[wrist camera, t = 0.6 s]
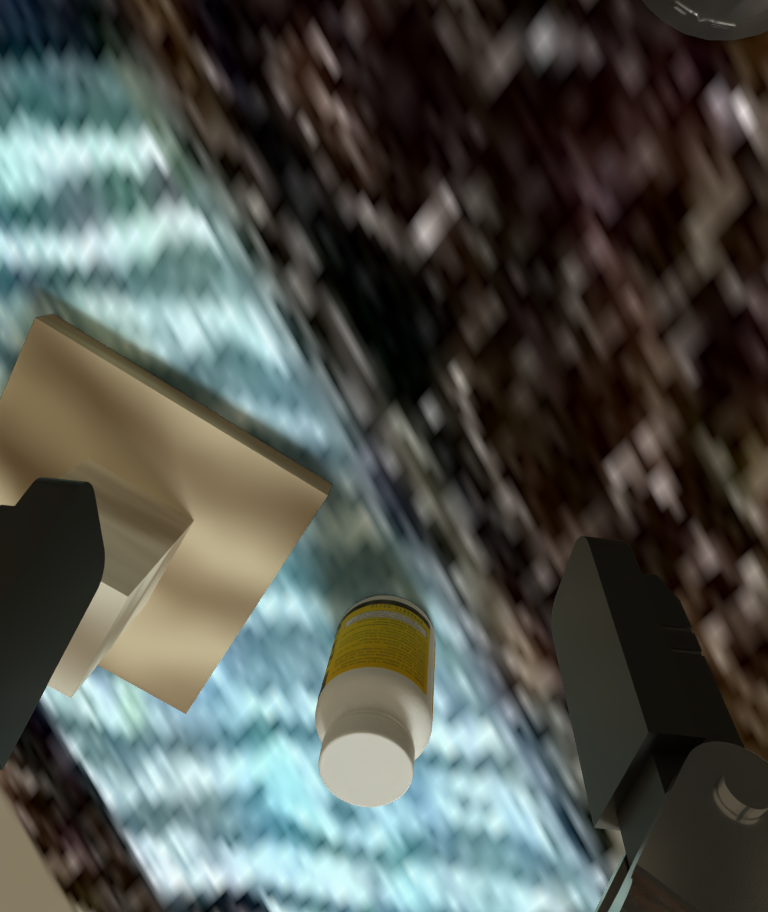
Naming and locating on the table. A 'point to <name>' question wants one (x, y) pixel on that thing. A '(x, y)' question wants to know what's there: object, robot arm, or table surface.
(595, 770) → the robot arm
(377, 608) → the supplement bottle
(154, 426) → the pedestal
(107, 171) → the table surface
